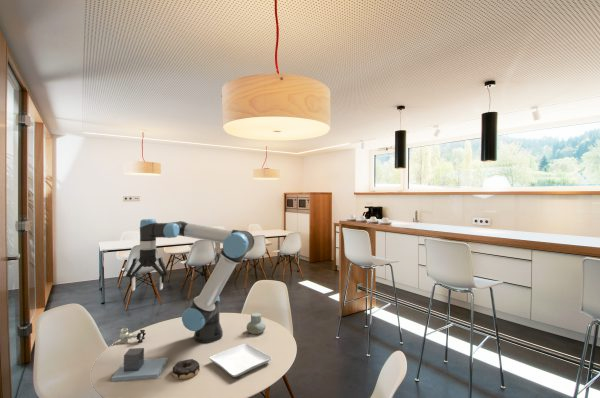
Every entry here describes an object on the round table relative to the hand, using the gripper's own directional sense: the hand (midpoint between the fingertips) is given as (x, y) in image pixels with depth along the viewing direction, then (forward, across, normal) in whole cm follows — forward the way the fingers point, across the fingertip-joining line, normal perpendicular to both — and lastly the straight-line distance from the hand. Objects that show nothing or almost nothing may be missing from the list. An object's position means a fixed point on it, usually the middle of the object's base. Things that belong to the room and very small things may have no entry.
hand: (147, 289), depth 159 cm
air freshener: (+29, -56, -9) cm, 64 cm away
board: (+29, -6, +25) cm, 39 cm away
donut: (+29, -26, +30) cm, 49 cm away
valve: (+29, +10, -6) cm, 31 cm away
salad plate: (+29, -49, +25) cm, 62 cm away
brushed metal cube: (+27, -3, +25) cm, 37 cm away
